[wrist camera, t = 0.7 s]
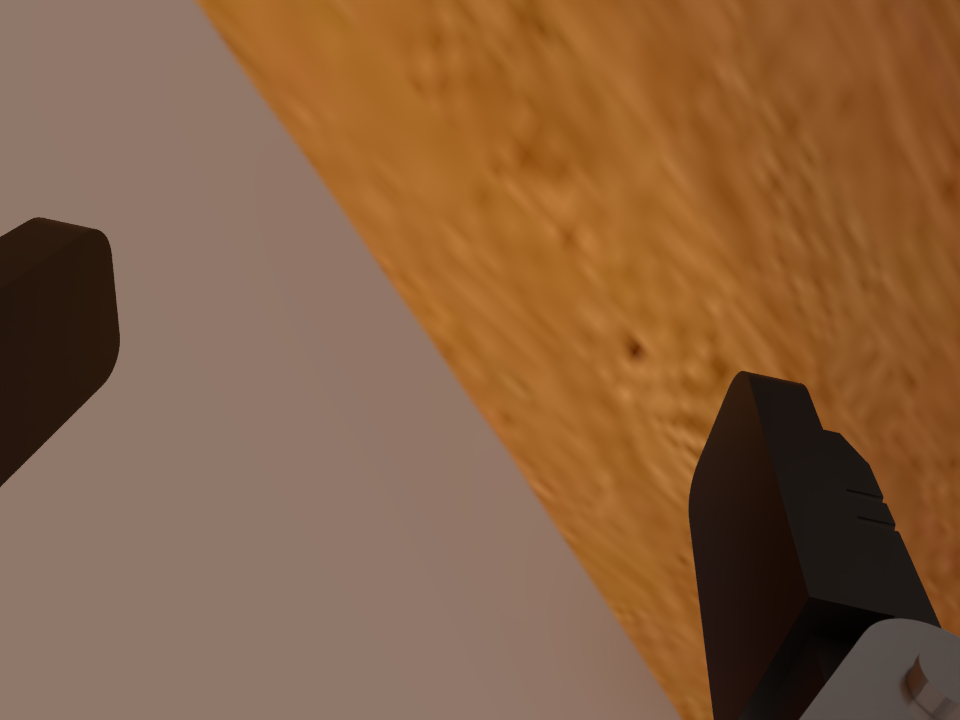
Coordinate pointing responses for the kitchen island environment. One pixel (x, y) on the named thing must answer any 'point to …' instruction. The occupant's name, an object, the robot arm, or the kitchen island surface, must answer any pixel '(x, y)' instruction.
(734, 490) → the robot arm
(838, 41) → the kitchen island surface
